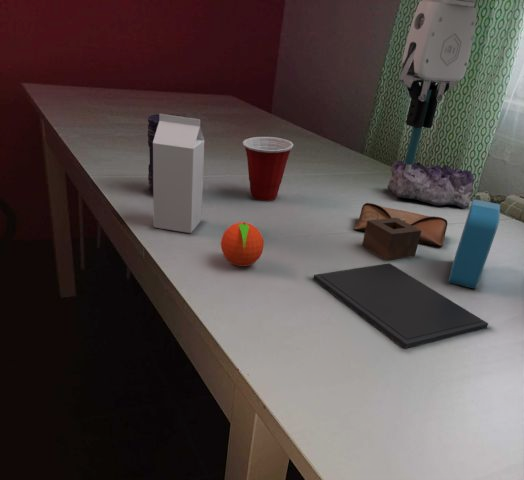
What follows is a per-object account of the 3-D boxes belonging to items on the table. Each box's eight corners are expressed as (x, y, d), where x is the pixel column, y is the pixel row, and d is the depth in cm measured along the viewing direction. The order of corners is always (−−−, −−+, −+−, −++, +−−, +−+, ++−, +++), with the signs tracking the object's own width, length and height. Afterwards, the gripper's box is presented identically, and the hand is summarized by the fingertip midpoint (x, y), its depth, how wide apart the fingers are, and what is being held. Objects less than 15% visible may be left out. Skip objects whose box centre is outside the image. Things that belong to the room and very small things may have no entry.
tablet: (388, 267, 94) (389, 262, 93) (487, 328, 78) (489, 322, 78) (313, 279, 87) (313, 273, 86) (404, 348, 71) (406, 343, 70)
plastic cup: (228, 193, 121) (232, 137, 114) (263, 187, 127) (269, 134, 121) (261, 207, 114) (267, 149, 108) (296, 200, 121) (304, 145, 115)
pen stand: (390, 242, 104) (396, 217, 102) (414, 256, 100) (421, 230, 97) (361, 245, 101) (367, 220, 99) (385, 260, 96) (392, 234, 94)
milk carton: (191, 234, 98) (194, 123, 87) (153, 228, 98) (152, 117, 88) (201, 221, 104) (205, 116, 93) (165, 216, 104) (166, 110, 94)
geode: (464, 199, 137) (479, 160, 130) (469, 219, 128) (485, 178, 122) (385, 184, 138) (396, 145, 132) (384, 202, 129) (395, 162, 123)
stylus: (407, 170, 93) (427, 88, 86) (413, 173, 92) (433, 90, 85) (400, 170, 93) (420, 88, 86) (406, 173, 92) (426, 89, 85)
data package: (453, 261, 99) (473, 196, 93) (478, 266, 98) (500, 202, 92) (447, 285, 90) (469, 215, 83) (475, 292, 89) (499, 221, 82)
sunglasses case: (353, 228, 107) (361, 195, 107) (354, 236, 114) (362, 205, 114) (444, 247, 104) (453, 213, 103) (440, 253, 111) (448, 222, 110)
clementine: (263, 277, 85) (268, 234, 81) (219, 274, 84) (222, 231, 81) (260, 257, 92) (264, 216, 88) (219, 254, 91) (221, 213, 87)
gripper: (429, -13, 72) (397, 131, 82) (506, 0, 80) (468, 131, 90) (392, -14, 78) (367, 121, 88) (467, -3, 85) (436, 121, 95)
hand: (418, 125), depth 89 cm, fingers closed on stylus, 1 cm apart
